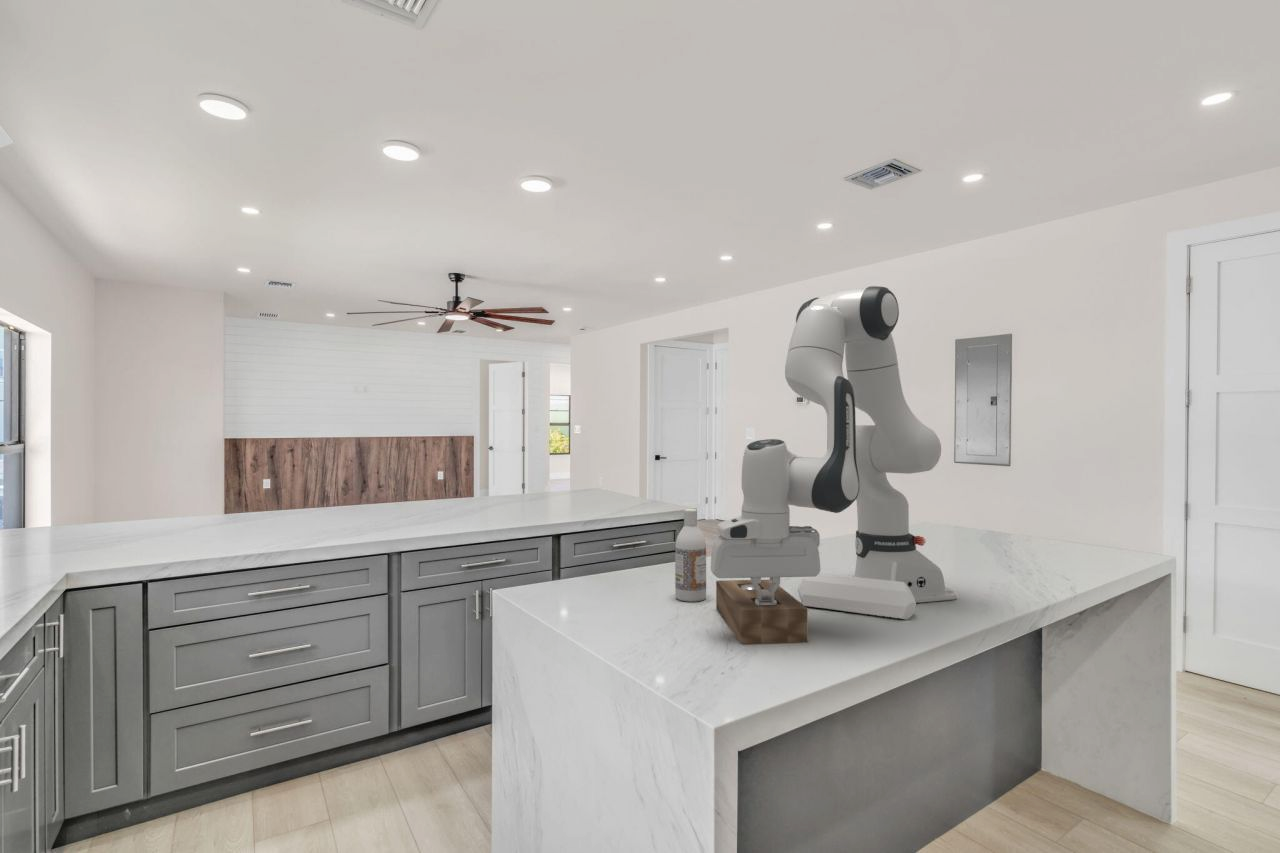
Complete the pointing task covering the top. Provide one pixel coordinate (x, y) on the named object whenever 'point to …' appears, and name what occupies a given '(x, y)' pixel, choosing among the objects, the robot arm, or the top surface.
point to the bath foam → (690, 560)
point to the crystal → (858, 595)
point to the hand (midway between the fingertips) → (765, 600)
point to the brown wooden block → (761, 614)
